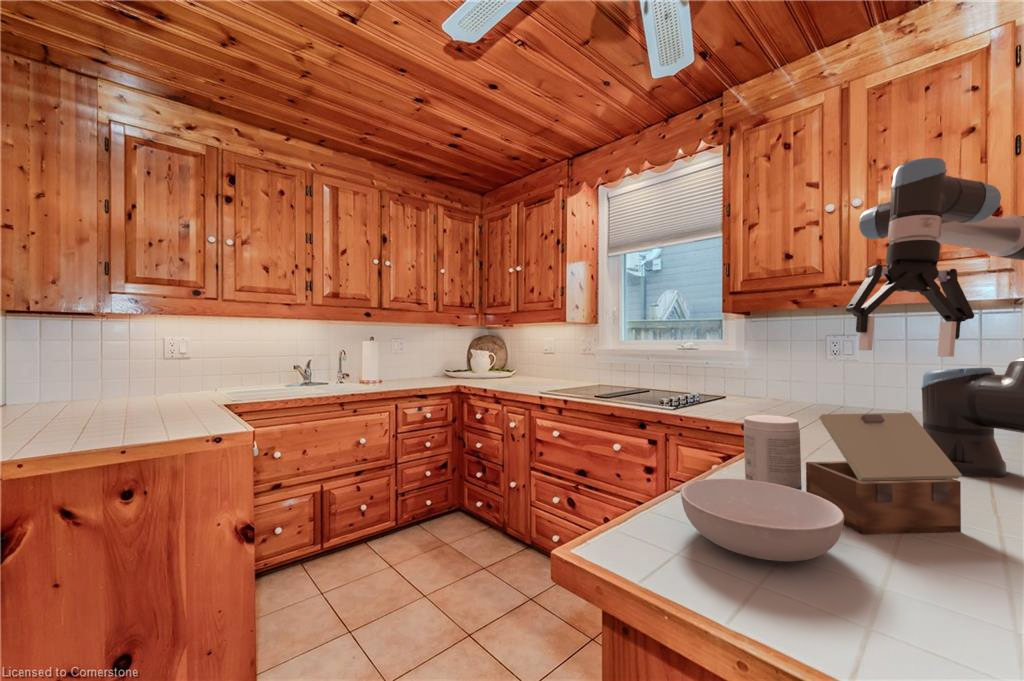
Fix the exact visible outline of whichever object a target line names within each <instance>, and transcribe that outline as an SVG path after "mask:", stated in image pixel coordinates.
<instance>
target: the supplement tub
mask: <svg viewBox="0 0 1024 681" xmlns="http://www.w3.org/2000/svg"><path fill="white" fill-rule="evenodd" d="M743 420H744V421H743V422H744V423H743V442H744V443H743V444H744V447H743V449H744V474H745V476H744V477H745V478H744V480H753V481H760V482H767V483H773V484H778V485H782V486H787V487H791V488H795V489H798V490H802V460H801V459H802V457H801V456H802V454H801V452H802V451H801V430H800V426H799V425H800V424H799V420H798V419H796V418H793V417H790V416H789V417H788V416H783V415H769V414H768V415H767V414H766V415H765V414H757V415H755V414H754V415H752V414H751V415H746V416H745V417H744V419H743ZM802 491H803V490H802Z"/></svg>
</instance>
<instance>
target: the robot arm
mask: <svg viewBox="0 0 1024 681" xmlns="http://www.w3.org/2000/svg"><path fill="white" fill-rule="evenodd" d="M946 165H947V163H946V161H944V159H943V158H939V157H923V158H916V159H913V160H910V161H907V162H905V163H903V164H900V165H899V166H898V167H897V168H895V170H894V171H893V175H892V181H891V186H890V190H891V192H890V201H887V202H885V203H880V204H878V205H875V206H873V207H870V208H868V209H866V210H865V211H864V212H863V213H862V214H861V215H860V217H859V220H858V223H859V224H858V228H859V231H860V234H862V236H863V237H865V238H866V239H868V240H881V239H885V238H887V239H886V240H887V243H888V244H889V245H888V246H887V247H886V255H885V256H886V258H885V261H886V267H883V265H881V264H877V265H873V266H870V267H868V268H867V271H866V273H865V274H866V276H865V279H864V280H863V281H862V283H861V285H860V286H859V288H858V289H857V290H856V292H855V293H854V296H853V297H852V298H851V299H850V301H849V303H848V304H847V306H846V307H845V311H846V312H847V313H851V314H852V315H853V316H854V317H855V318H856V321H855V331H856V333H859V343H858V351H873V340H874V327H875V318H876V317H875V316H874V315H870V314H872V313H873V312H874V311H875V310H876V309H877V308H878V307H879V306H880V305H882V304H883V303H884V301H885V300H888V298H889V297H891V296H892V294H893V293H895V292H901V293H902V292H909V293H919V294H920V295H921V296H923V297H925V298H926V300H927V301H928V302H929V303H930V305H932V307H933V308H934V309H935V310H936V311H937V313H938V314H939V315H940V316H941V317H942V319H943V321H942V322H941V321H940V322H939V332H938V346H937V357H941V358H942V357H947V358H948V357H950V358H953V357H955V347H956V340H959V338H960V335H961V334H960V333H961V323H962V322H966V321H967V320H973V319H974V318H975V314H974V311H973V310H972V307H971V305H970V303H969V300H968V299H967V296H966V295H965V293H964V290H963V289H962V287H961V285H960V282H959V281H958V270H957V269H956V268H949V269H945V270H944V269H943V270H939V269H938V267H937V266H938V263H939V260H940V253H941V251H940V250H941V244H942V245H948V246H955V247H961V248H967V249H968V248H969V249H973V250H980V251H981V250H982V252H983V253H985V254H986V255H988V256H992V257H998V258H1001V259H1002V258H1004V259H1011V260H1018V261H1024V215H1017V214H1016V215H1015V214H1013V215H1012V214H1011V215H1004V216H1001V217H999V216H993V215H994V214H995V212H996V211H997V210H998V208H999V206H1000V205H1001V201H1002V200H1001V199H1002V194H1001V191H1000V190H999V189H998V188H997V187H996V186H994V185H992V184H989V183H985V182H983V181H980V180H973V179H965V178H959V177H953V176H951V175H946V174H947V171H948V170H947V166H946ZM883 277H885V278H886V280H887V282H885V283H884V284H883V285H882V286H881V287H880V289H879V290H878V291H877V292H876V293H874V294H873V296H871V297H870V295H871V293H872V292H873V291H874V289H875V287H876V285H877V284H878V282H879V281H880V279H881V278H883ZM935 280H936V281H937V282H939V284H940V285H939V284H938V283H937V282H936V281H935ZM940 286H941V287H940ZM941 289H942V290H941ZM869 297H870V298H869ZM868 298H869V299H868ZM867 299H868V300H867ZM920 387H921V397H922V398H921V401H922V403H921V406H922V407H921V408H922V410H921V411H922V427H923V428H924V430H925V431H926V432H927V433H928V434H929V436H930V437H931V438H932V439H933V441H934V442H935V443H936V444H937V445H938V447H939V448H940V449H941V450H942V451H943V453H944V454H945V455H946V456H947V457H948V459H949V460H950V461H951V462H952V463H953V465H954V466H955V467H956V468H957V470H958V471H959V472H960V473H961V474H962V476H963V475H965V476H971V477H972V476H973V477H989V478H995V477H997V478H998V477H1004V476H1006V475H1007V463H1006V461H1005V460H1003V457H1002V456H1003V455H1002V453H1001V451H1000V449H999V446H998V444H997V441H996V438H995V429H996V430H1003V431H1009V432H1015V433H1020V434H1021V433H1022V434H1024V357H1022V358H1021V357H1020V358H1018V359H1014V360H1012V361H1010V362H1009V364H1008V366H1007V368H1006V370H1005V372H1004V374H996V372H995V371H994V369H993V368H992V367H965V368H961V367H960V368H945V369H943V368H942V369H932V370H931V369H930V370H928V371H926V372H925V373H924V374H923V375H922V386H920Z"/></svg>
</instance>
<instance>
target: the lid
mask: <svg viewBox="0 0 1024 681" xmlns="http://www.w3.org/2000/svg"><path fill="white" fill-rule="evenodd" d="M818 419H819V420H820V422H821V424H822V425H823V426H824V428H825V429H826V431H827V433H828V434H829V436H830V438H831V439H832V441H833V442H834V443H835V446H836V447H837V449H838V450H839V451H840V453H841V454H842V457H843V458H844V459H845V461H847V462H848V464H849V466H850V467H851V469H852V470H853V472H854V473H855V475H856V476H857V478H858V480H859V481H872V480H915V479H954V480H957V479H959V478H961V477H962V476H963V474H961V473H960V472H959V471H958V470H957V468H956V467H955V466H954V465H953V463H952V462H951V461H950V460H949V459H948V457H947V456H946V455H945V454H944V453H943V451H942V450H941V449H940V448H939V447H938V445H937V444H936V443H935V442H934V441H933V439H932V438H931V437H930V436H929V434H928V433H927V432H926V431H925V430H924V428H923V425H921V424H920V422H919V421H918V420H917V419H916V418H915V416H914V415H913V414H912V413H911V412H889V413H888V412H886V413H885V412H884V413H880V412H879V413H829V414H825V413H822V414H821V415H820V416H819V417H818Z"/></svg>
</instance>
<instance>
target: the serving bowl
mask: <svg viewBox="0 0 1024 681" xmlns="http://www.w3.org/2000/svg"><path fill="white" fill-rule="evenodd" d="M680 497H681V502H682V506H683V510H684V513H685V515H686V517H687V520H689V522H690V524H691V525H692V526H693V528H695V529H696V531H697V532H698V533H700V534H701V535H702V536H703V537H704V538H706V539H707V540H709V541H711V542H712V543H713V544H716V545H717V546H719V547H721V548H723V549H726V550H728V551H731V552H733V553H737V554H740V555H743V556H747V557H751V558H756V559H760V560H767V561H775V562H796V561H797V562H799V561H805V560H810V559H814V558H818V557H820V556H822V555H823V554H826V553H827V552H828V551H830V550H831V549H832V548H833V547H834V546H835V545H836V544H837V542H838V541H839V539H840V537H841V534H842V532H843V527H844V525H843V524H844V514H843V512H842V511H841V510H840V509H839V508H838V507H837V506H836V505H834V504H833V503H831V502H829V501H828V500H825V499H823V498H821V497H819V496H816V495H814V494H811V493H808V492H806V490H798V489H795V488H791V487H787V486H782V485H778V484H773V483H767V482H760V481H753V480H745V478H744V479H743V478H728V477H727V478H726V477H725V478H724V477H722V478H720V477H719V478H706V479H705V478H704V479H699V480H694V481H691V482H688V483H687V484H685V485H683V487H682V488H681V490H680Z"/></svg>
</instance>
